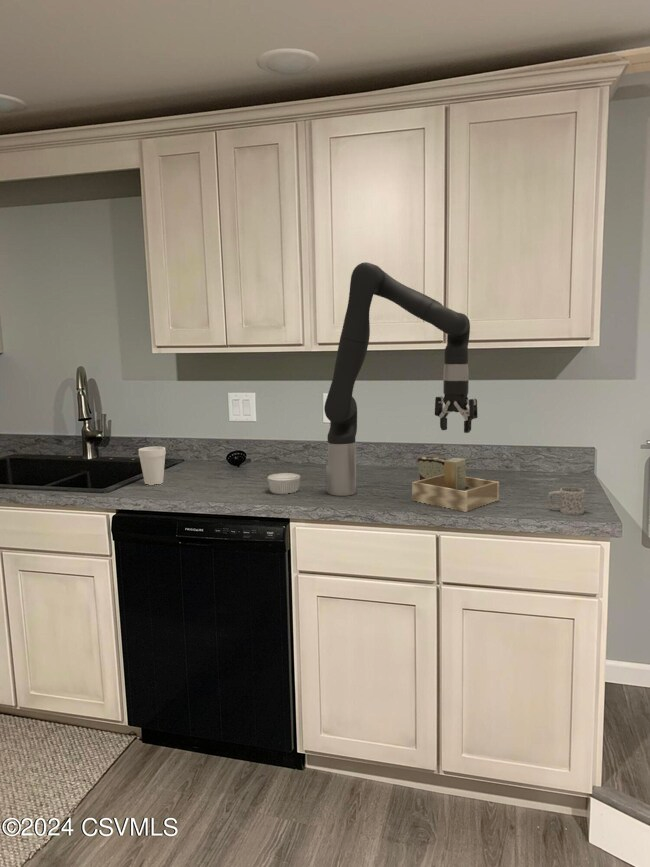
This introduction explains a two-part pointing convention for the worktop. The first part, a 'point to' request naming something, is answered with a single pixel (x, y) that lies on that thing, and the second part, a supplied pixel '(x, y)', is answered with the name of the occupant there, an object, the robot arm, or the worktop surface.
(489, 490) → the walled box
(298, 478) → the ramekin
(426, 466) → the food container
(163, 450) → the foam cup
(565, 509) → the mug
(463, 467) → the skincare box
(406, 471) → the worktop surface
